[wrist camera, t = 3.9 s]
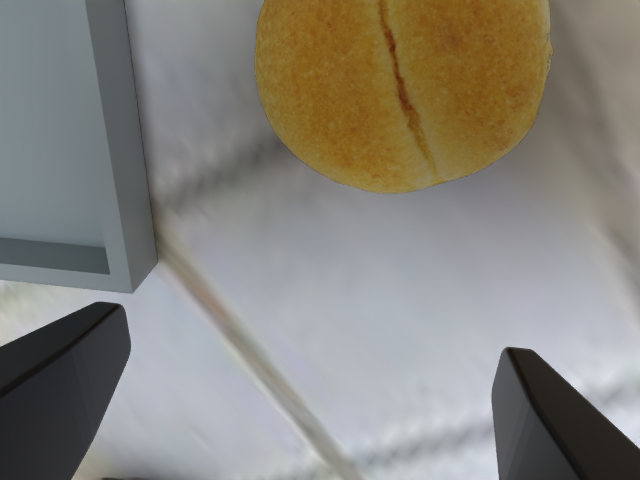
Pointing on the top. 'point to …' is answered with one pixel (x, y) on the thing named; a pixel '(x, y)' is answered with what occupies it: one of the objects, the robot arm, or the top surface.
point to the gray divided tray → (71, 148)
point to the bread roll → (401, 85)
